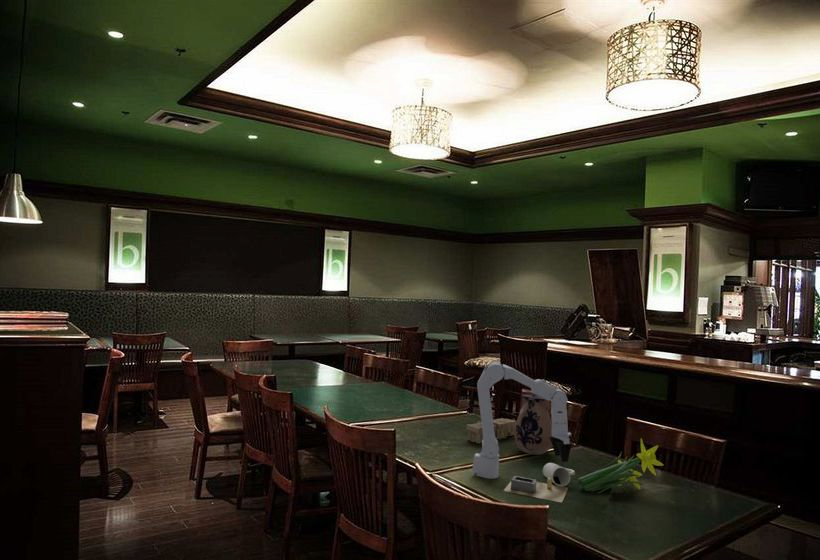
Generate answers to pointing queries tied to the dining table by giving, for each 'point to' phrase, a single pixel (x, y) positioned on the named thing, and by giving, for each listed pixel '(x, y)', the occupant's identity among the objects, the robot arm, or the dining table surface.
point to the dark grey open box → (523, 484)
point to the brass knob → (549, 483)
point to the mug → (558, 473)
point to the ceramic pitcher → (533, 425)
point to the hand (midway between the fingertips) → (561, 458)
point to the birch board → (543, 492)
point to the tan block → (500, 429)
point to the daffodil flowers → (620, 471)
